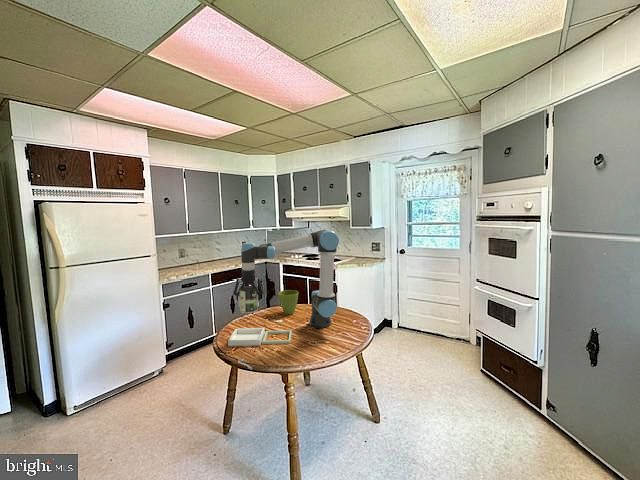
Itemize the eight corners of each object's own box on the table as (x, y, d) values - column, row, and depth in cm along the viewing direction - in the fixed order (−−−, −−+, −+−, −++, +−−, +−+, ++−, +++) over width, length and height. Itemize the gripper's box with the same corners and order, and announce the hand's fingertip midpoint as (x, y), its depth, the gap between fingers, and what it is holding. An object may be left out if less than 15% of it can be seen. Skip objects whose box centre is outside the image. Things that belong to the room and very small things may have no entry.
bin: (264, 333, 189) (264, 327, 188) (260, 345, 171) (260, 339, 171) (235, 334, 188) (235, 328, 188) (228, 346, 170) (228, 340, 170)
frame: (291, 332, 189) (291, 330, 189) (290, 343, 174) (290, 340, 173) (266, 333, 189) (266, 330, 189) (262, 344, 173) (262, 341, 173)
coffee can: (260, 308, 182) (260, 286, 181) (253, 314, 172) (252, 290, 171) (244, 307, 184) (244, 285, 183) (236, 312, 174) (236, 289, 173)
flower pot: (275, 313, 227) (274, 292, 226) (289, 308, 239) (288, 289, 237) (288, 317, 218) (288, 296, 216) (302, 312, 229) (302, 292, 228)
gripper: (268, 268, 180) (268, 304, 182) (230, 268, 179) (231, 304, 181) (266, 270, 173) (266, 307, 175) (227, 270, 172) (227, 308, 174)
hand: (248, 306), depth 178 cm, fingers closed on coffee can, 10 cm apart
